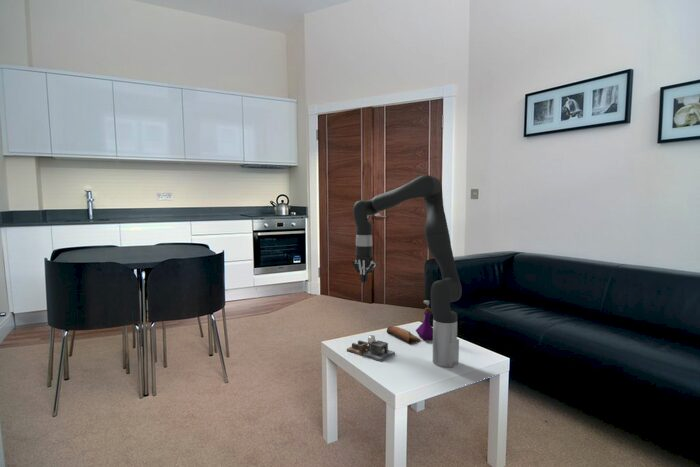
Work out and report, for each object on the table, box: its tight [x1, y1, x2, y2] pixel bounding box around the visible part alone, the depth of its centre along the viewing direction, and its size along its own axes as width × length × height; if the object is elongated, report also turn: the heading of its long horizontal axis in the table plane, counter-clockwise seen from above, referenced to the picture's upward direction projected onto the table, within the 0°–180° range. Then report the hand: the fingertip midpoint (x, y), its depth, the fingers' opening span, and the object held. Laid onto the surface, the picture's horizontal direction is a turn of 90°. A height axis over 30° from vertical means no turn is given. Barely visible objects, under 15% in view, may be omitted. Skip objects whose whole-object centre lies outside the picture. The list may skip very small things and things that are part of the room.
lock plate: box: [346, 339, 396, 362], centre depth 166 cm, size 18×10×5 cm, turn 51°
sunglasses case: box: [386, 325, 422, 345], centre depth 185 cm, size 18×7×7 cm, turn 29°
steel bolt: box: [366, 334, 385, 354], centre depth 164 cm, size 8×3×6 cm, turn 51°
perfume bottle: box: [415, 300, 433, 341], centre depth 182 cm, size 8×8×18 cm
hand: (364, 282), depth 179 cm, fingers closed
